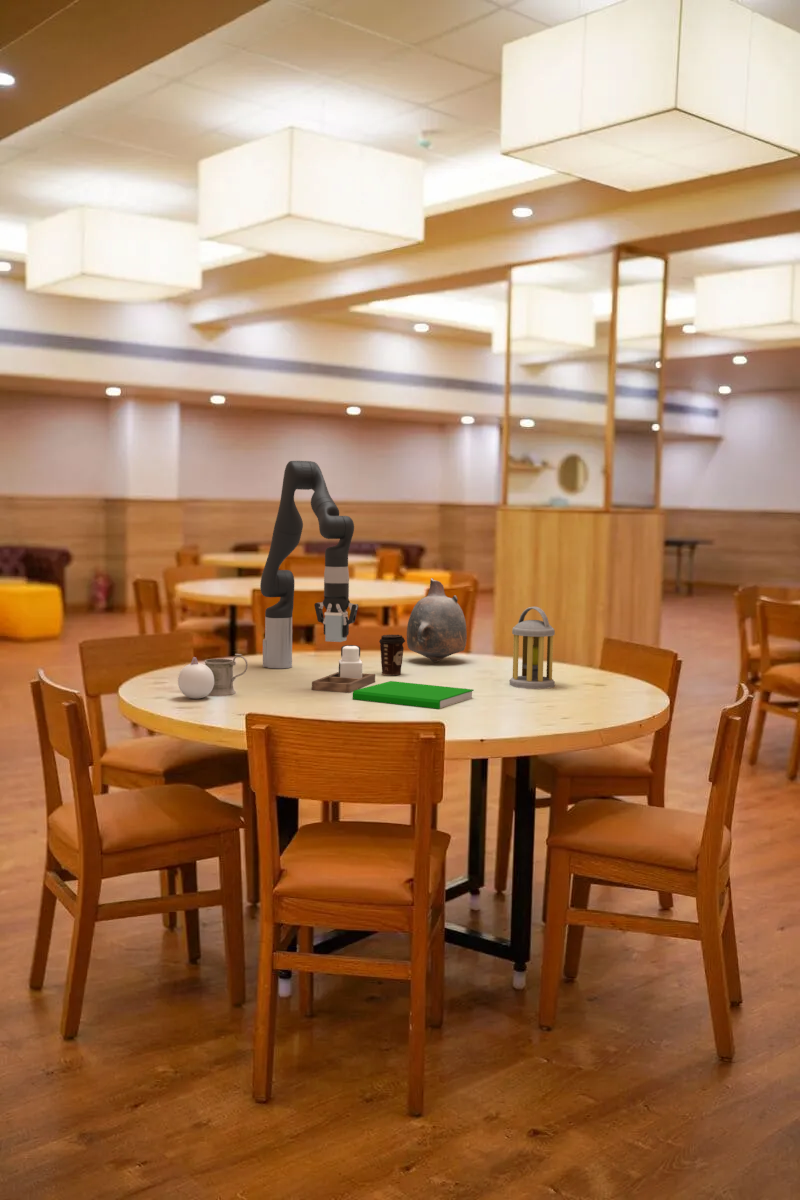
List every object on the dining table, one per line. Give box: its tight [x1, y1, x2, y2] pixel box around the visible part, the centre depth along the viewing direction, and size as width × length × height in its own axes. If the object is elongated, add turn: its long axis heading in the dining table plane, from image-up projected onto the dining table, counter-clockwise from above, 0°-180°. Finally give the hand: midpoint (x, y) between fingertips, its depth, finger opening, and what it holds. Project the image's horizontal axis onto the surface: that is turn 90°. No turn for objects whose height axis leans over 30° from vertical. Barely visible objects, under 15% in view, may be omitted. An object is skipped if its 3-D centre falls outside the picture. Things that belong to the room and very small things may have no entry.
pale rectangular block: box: [324, 611, 348, 643], centre depth 365 cm, size 5×5×9 cm
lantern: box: [509, 606, 556, 690], centre depth 378 cm, size 14×14×25 cm
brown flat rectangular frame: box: [311, 671, 376, 694], centre depth 371 cm, size 12×23×2 cm, turn 162°
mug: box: [204, 653, 249, 697], centre depth 353 cm, size 14×10×12 cm
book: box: [352, 680, 474, 710], centre depth 350 cm, size 22×28×3 cm
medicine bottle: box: [338, 644, 363, 679], centre depth 376 cm, size 7×7×12 cm
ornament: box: [177, 656, 214, 700], centre depth 344 cm, size 10×10×12 cm
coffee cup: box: [379, 634, 406, 676], centre depth 396 cm, size 9×8×13 cm
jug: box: [406, 577, 468, 663], centre depth 427 cm, size 24×21×30 cm
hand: (336, 636), depth 365 cm, fingers closed on pale rectangular block, 5 cm apart
